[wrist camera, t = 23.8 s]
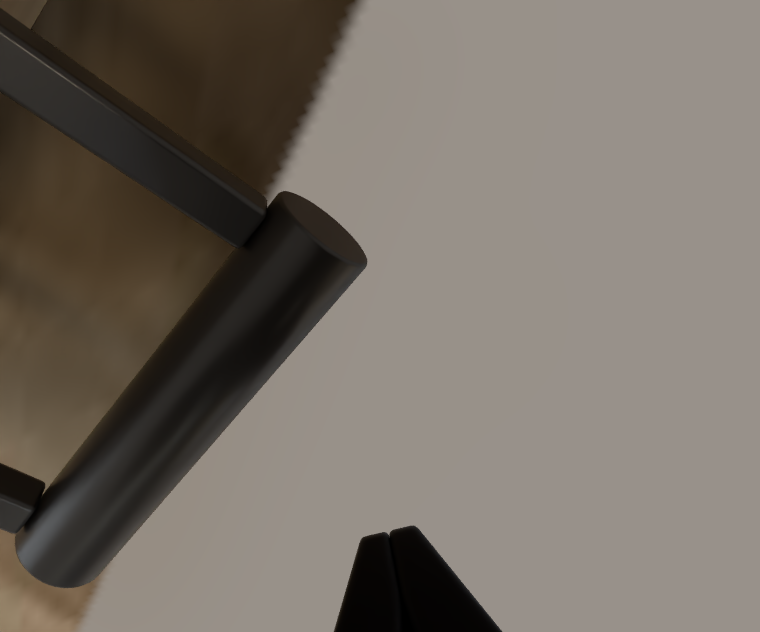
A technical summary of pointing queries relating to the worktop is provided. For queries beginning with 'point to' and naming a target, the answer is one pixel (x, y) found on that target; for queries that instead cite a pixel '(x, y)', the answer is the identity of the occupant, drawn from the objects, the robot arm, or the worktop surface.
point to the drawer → (191, 333)
